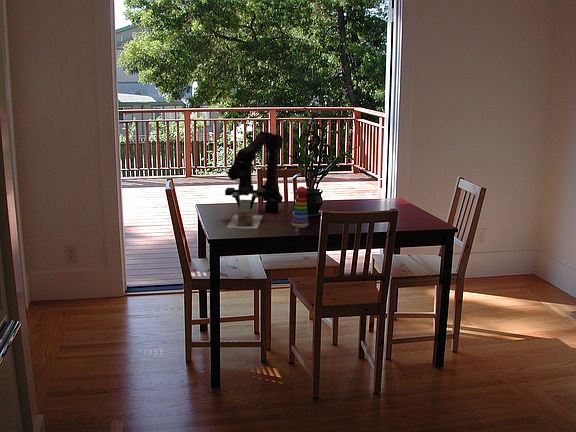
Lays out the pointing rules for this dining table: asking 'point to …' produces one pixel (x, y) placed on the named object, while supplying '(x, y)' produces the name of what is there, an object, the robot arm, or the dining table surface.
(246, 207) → the sage block
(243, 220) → the walnut block
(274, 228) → the dining table surface
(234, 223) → the build board
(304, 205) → the stacking toy
